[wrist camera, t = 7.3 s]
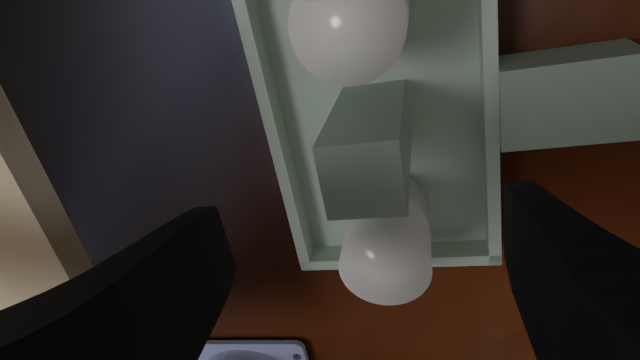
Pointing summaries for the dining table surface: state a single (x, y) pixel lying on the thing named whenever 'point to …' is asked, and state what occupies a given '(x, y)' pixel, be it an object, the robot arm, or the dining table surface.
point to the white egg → (348, 37)
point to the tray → (427, 124)
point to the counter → (31, 220)
